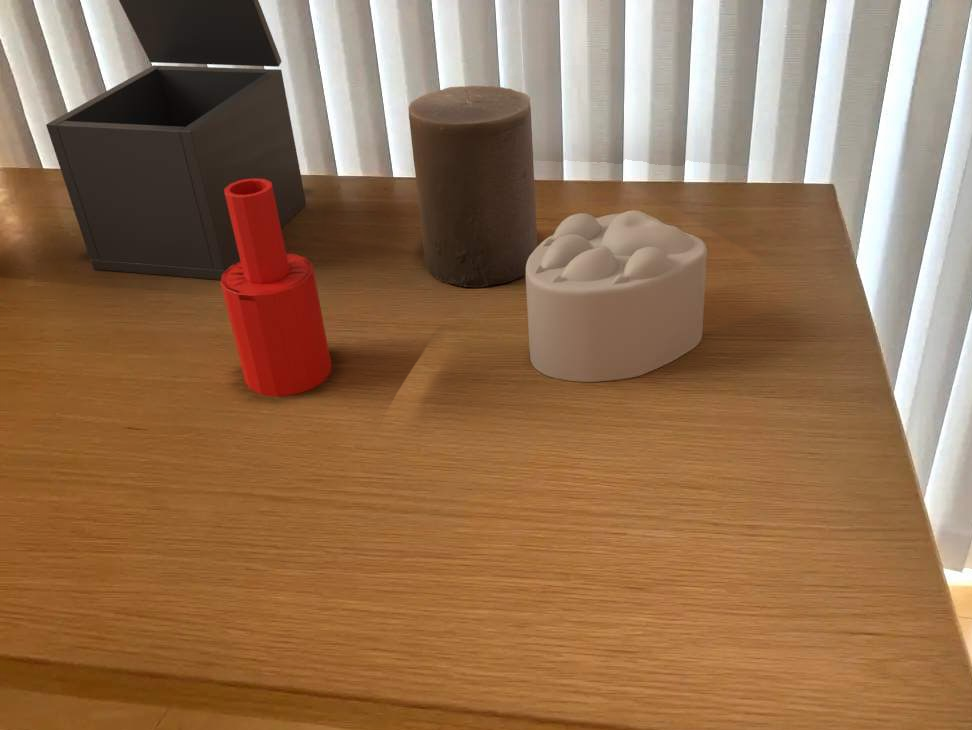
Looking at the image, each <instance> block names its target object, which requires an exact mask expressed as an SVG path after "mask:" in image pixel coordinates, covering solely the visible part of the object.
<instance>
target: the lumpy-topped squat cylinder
mask: <svg viewBox="0 0 972 730" xmlns="http://www.w3.org/2000/svg"><path fill="white" fill-rule="evenodd" d="M537 246H538V247H537V248H536V249H535V250H534V251H533V252H532V254H531V255H530V256H529V258H528V261H527V264H526V275H525V289H526V290H525V291H526V310H527V325H528V326H527V327H528V342H529V343H528V345H529V346H528V347H529V360H530V363H531V365H532V366H533V368H534V369H535V370H537V371H538V372H540V373H541V374H543V375H544V376H547V377H549V378H554V379H557V380H563V381H569V382H578V383H596V382H597V383H598V382H610V381H618V380H625V379H626V380H627V379H632V378H636V377H639V376H642V375H645V374H648V373H650V372H652V371H654V370H656V369H659V368H661V367H663V366H666V365H668V364H670V363H672V362H673V361H675V360H677V359H679V358H680V357H682V356H683V355H686V354H687V353H689V352H690V351H692V350H693V349H695V348H696V347H697V346H698V345H699V344H700V343H701V341H702V338H703V330H704V328H703V327H704V311H705V296H706V294H705V293H706V278H707V257H708V250H707V245H706V243H705V242H704V241H703V240H702V239H701V238H700V237H698V236H696V235H693V234H691V233H687V232H685V231H683V230H681V229H680V228H679V227H677V226H674V225H670V224H667V223H664V222H662V221H661V220H659V219H657V218H656V217H654V216H652V215H649V214H647V213H645V212H643V211H640V210H637V209H636V210H633V209H632V210H627V211H625V212H624V211H623V212H622V213H621V212H620V213H612V214H607V215H603V216H599V217H594V216H593V215H591V214H590V213H586V212H585V213H584V212H582V213H581V212H580V213H575V214H572V215H570V216H568V217H566V218H564V219H563V220H562V221H561V222H560V224H559V225H558V226H557V228H556V230H555V232H554V234H552V235H550V236H548V237H547V238H545V239H544V240H543V241H542V242H540V243H539V244H538V245H537Z"/></svg>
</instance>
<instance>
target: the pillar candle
mask: <svg viewBox="0 0 972 730" xmlns="http://www.w3.org/2000/svg"><path fill="white" fill-rule="evenodd" d="M408 119H409V129H410V136H411V137H410V138H411V139H410V140H411V148H412V157H413V158H412V159H413V165H414V175H415V183H416V184H415V186H416V192H417V193H416V194H417V203H418V208H419V209H418V210H419V220H420V230H421V237H422V245H423V246H422V247H423V254H424V255H423V257H424V264H425V265H426V270H427V271H428V273H429V274H430V275H431V276H432V277H433V278H435V279H436V280H438V281H440V282H442V283H443V282H444V283H446V284H451V285H455V286H460V287H465V288H483V287H489V286H490V287H492V286H497V285H502V284H506V283H509V282H512V281H515V280H517V279H521V278H523V277H524V276H526V264H527V261H528V258H529V256H530V255H531V254H532V252H533V251H534V250H535V249H536V248H537V247H538V246H539V245H538V230H537V209H536V208H537V206H536V205H537V204H536V186H535V170H534V169H535V167H534V148H533V147H534V145H533V129H532V128H533V127H532V107H531V97H530V96H528V94H527V93H525V92H522V91H518V90H514V89H513V88H506V87H503V86H493V85H488V86H486V85H467V86H466V85H465V86H462V85H461V86H449V87H445V88H443V89H437V90H435V91H432V92H429V93H426V94H425V93H424V94H423V95H421V96H419V97H417V98H415V99H413V100H412V101H411V102H410V104H409V105H408Z"/></svg>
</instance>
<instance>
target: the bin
mask: <svg viewBox="0 0 972 730" xmlns="http://www.w3.org/2000/svg"><path fill="white" fill-rule="evenodd" d="M286 92H287V91H286V87H285V82H284V77H283V71H282V69H280V68H279V69H278V68H277V69H275V68H274V69H273V68H272V69H271V68H246V67H245V68H243V67H214V66H213V67H212V66H187V65H186V66H183V65H157V64H156V65H154V64H153V65H151V66H150V67H148V68H146V69H144V70H143V71H141V72H138V73H137V74H135V75H133V76H131V77H129V78H127V79H126V80H124V81H122V82H120V83H119V84H117V85H115V86H113V87H111V88H110V89H107V90H106V91H104V92H102V93H100V94H99V95H97V96H95V97H93V98H92V99H90V100H88V101H86V102H84V103H82V104H81V105H79V106H77V107H75V108H73V109H72V110H70V111H68V112H66V113H64V114H63V115H61V116H59V117H57V118H55V119H53V120H51V121H50V122H48V123H46V124H45V126H46V129H47V133H48V135H49V138H50V141H51V145H52V147H53V150H54V153H55V157H56V159H57V163H58V165H59V169H60V172H61V175H62V178H63V181H64V184H65V187H66V190H67V193H68V196H69V200H70V203H71V205H72V208H73V211H74V214H75V217H76V221H77V223H78V227H79V230H80V233H81V236H82V238H83V242H84V245H85V248H86V251H87V254H88V257H89V259H90V263H91V266H92V269H93V270H96V271H108V272H119V273H132V274H144V275H154V276H155V275H157V276H168V277H178V278H192V279H204V280H216V281H221V279H222V274H223V273H224V272H225V271H226V270H227V269H228V268H229V267H231V266H232V265H234V264H236V263H238V262H240V256H239V252H238V248H237V244H236V239H235V235H234V231H233V227H232V222H231V218H230V214H229V209H228V205H227V201H226V197H225V190H224V189H225V188H226V187H227V186H228V185H230V184H231V183H234V182H237V181H240V180H245V179H252V178H256V179H265V180H268V181H270V182H271V183H272V188H273V192H274V197H275V202H276V207H277V212H278V217H279V222H280V227H281V229H283V227H285V225H286V224H287V223H289V221H291V219H292V218H294V217H295V215H297V214H298V213H299V212H300V211H301V210H302V209H303V208H304V207H305V206H306V205H307V202H306V197H305V190H304V183H303V179H302V174H301V168H300V163H299V157H298V153H297V147H296V141H295V136H294V131H293V125H292V120H291V114H290V108H289V104H288V98H287V93H286Z"/></svg>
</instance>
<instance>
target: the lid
mask: <svg viewBox="0 0 972 730" xmlns="http://www.w3.org/2000/svg"><path fill="white" fill-rule="evenodd" d="M118 2H119V4H120V5H121V8H122V9H123V11H124V13H125V16H126V18H127V20H128V22H129V24H130V25H131V28H132V29H133V31H134V33H135V35H136V37H137V39H138V41H139V44H140V45H141V47H142V49H143V51H144V53H145V55H146V58H147V59H148V61H149V62H150V63H155V64H184V65H185V64H186V65H187V64H188V65H211V66H212V65H218V66H244V67H245V66H246V67H247V66H249V67H276V68H277V67H280V65H281V64H282V58H281V56H280V53H279V51H278V48H277V45H276V43H275V40H274V37H273V35H272V33H271V29H270V27H269V24H268V22H267V20H266V17H265V14H264V11H263V8H262V6H261V4H260V1H259V0H118Z"/></svg>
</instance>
